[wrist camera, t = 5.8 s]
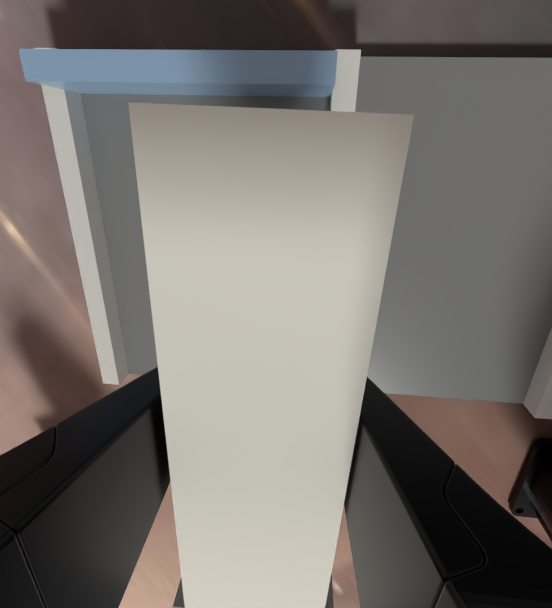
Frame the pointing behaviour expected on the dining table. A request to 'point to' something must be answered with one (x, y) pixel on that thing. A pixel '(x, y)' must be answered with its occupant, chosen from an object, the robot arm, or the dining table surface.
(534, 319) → the grey rimmed tray
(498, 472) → the dining table surface
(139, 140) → the cream rectangular block
